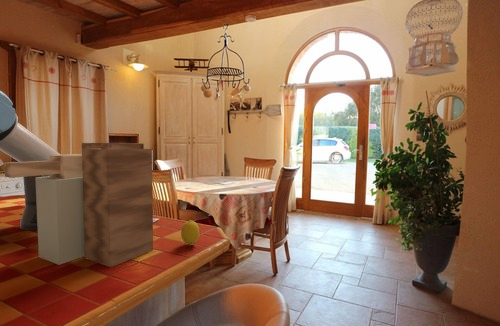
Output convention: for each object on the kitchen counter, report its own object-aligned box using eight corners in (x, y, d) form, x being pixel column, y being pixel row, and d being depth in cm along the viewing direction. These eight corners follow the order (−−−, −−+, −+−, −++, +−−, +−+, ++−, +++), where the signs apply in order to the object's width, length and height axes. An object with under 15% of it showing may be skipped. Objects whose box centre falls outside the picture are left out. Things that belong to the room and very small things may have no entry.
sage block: (38, 256, 83) (35, 177, 81) (87, 242, 95) (85, 172, 93) (59, 264, 78) (55, 180, 76) (107, 248, 90) (106, 175, 89)
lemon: (182, 242, 96) (182, 217, 96) (200, 242, 97) (200, 217, 96) (180, 248, 91) (179, 222, 90) (198, 248, 91) (198, 222, 91)
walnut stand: (85, 258, 83) (81, 142, 80) (128, 243, 95) (126, 142, 92) (110, 267, 77) (107, 143, 75) (153, 250, 89) (151, 143, 87)
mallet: (1, 181, 74) (0, 156, 73) (78, 174, 90) (78, 154, 90) (15, 183, 70) (14, 158, 70) (93, 175, 87) (92, 155, 86)
